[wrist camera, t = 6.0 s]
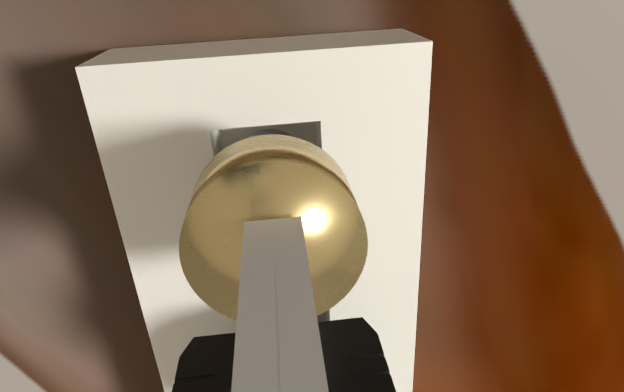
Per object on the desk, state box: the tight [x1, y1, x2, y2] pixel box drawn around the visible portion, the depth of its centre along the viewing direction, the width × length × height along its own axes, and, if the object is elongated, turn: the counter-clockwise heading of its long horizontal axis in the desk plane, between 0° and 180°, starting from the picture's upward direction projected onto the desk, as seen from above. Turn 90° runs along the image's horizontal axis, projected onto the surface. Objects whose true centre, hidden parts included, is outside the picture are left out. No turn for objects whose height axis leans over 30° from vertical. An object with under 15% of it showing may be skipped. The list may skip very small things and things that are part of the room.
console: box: [75, 28, 433, 392], centre depth 23 cm, size 25×12×4 cm, turn 3°
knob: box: [179, 129, 368, 321], centre depth 16 cm, size 5×5×7 cm
